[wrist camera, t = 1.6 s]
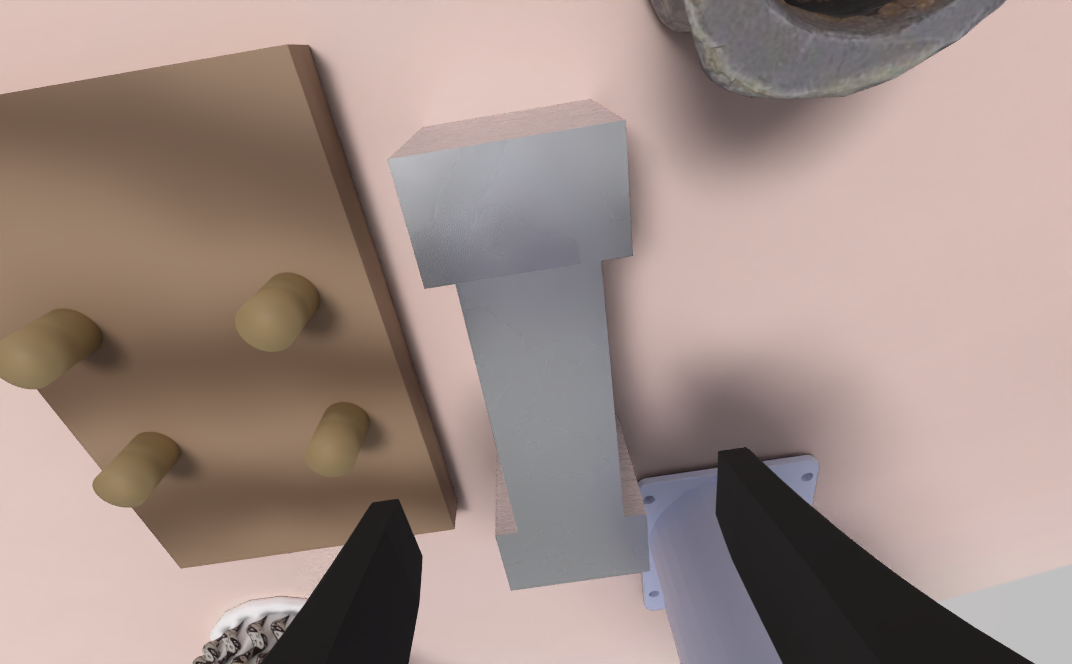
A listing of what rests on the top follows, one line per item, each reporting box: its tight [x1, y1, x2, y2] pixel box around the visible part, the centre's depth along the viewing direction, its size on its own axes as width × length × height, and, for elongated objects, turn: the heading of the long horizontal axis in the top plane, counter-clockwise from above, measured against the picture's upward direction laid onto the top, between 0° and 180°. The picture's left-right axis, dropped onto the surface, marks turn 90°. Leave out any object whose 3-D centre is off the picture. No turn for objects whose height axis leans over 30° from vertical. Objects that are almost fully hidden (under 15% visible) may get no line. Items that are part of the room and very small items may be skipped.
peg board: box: [0, 45, 457, 568], centre depth 17 cm, size 18×12×4 cm, turn 8°
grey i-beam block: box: [388, 99, 650, 591], centre depth 16 cm, size 15×5×5 cm, turn 8°
